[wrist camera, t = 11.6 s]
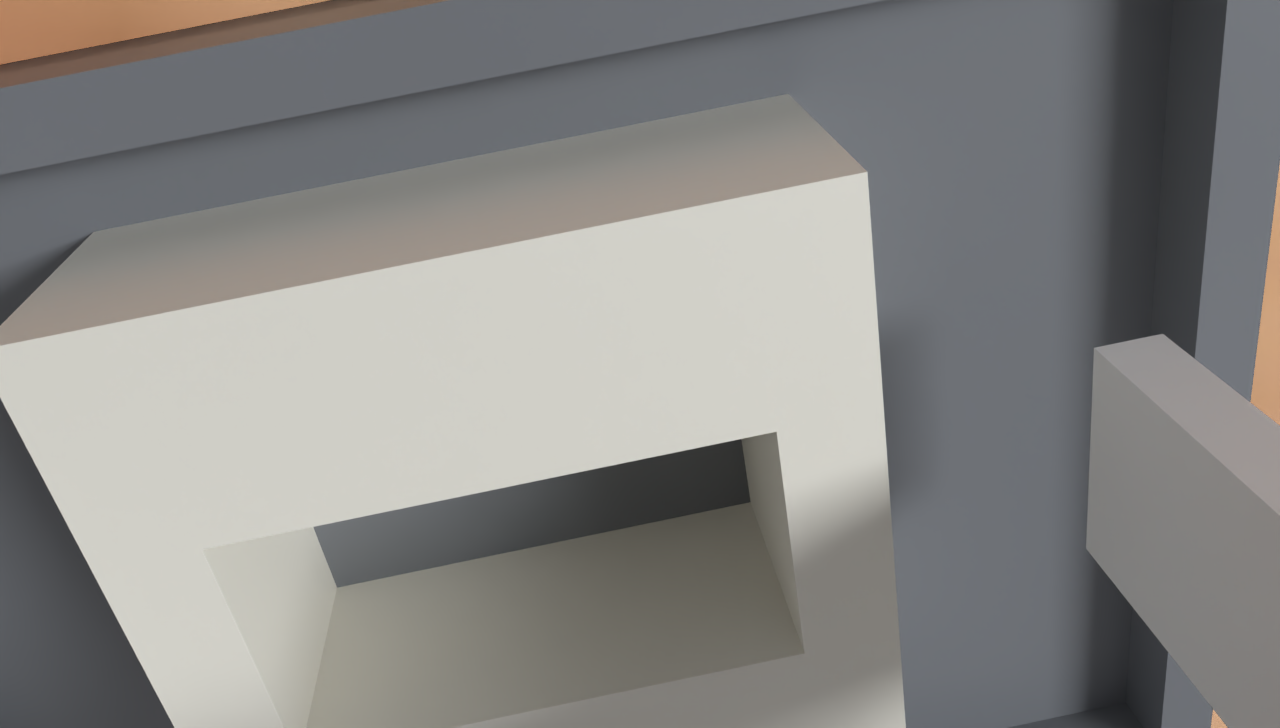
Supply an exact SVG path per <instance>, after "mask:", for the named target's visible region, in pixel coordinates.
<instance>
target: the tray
mask: <svg viewBox="0 0 1280 728" xmlns="http://www.w3.org/2000/svg"><path fill="white" fill-rule="evenodd" d="M785 94H789V95H790V96H791V97H792V98H793V99H794V100H795V101H796V102H797V103H798V104H799V105H800V106H801V107H802V108H803V109H804V110H805V111H806V112H807V113H808V114H809V115H810V116H811V117H812V118H813V119H814V120H815V121H816V122H817V123H818V124H819V125H820V126H821V127H822V128H823V129H824V130H825V131H826V132H828V133H829V134H830V135H831V136H832V137H833V138H834V139H835V140H836V141H837V142H838V143H839V144H840V145H841V146H842V147H843V148H844V149H845V150H846V151H847V152H848V153H849V154H850V155H851V156H852V157H853V158H854V159H855V160H856V161H857V162H858V163H859V164H860V165H861V166H862V167H863V168H864V169H865V170H866V171H867V172H868V187H869V201H870V216H871V230H872V245H873V259H874V273H875V288H876V302H877V317H878V331H879V346H880V360H881V375H882V389H883V404H884V418H885V433H886V447H887V462H888V476H889V491H890V505H891V520H892V534H893V549H894V563H895V577H896V592H897V606H898V621H899V635H900V650H901V664H902V679H903V693H904V708H905V722H906V728H1211V720H1212V711H1213V708H1212V707H1211V706H1210V704H1209V703H1208V702H1207V700H1206V699H1205V698H1204V697H1203V695H1202V694H1201V693H1200V692H1199V690H1198V689H1197V688H1196V687H1195V685H1194V684H1193V683H1192V682H1191V680H1190V679H1189V678H1188V676H1187V675H1186V674H1185V673H1184V671H1183V670H1182V669H1181V668H1180V666H1179V665H1178V664H1177V663H1176V661H1175V660H1174V659H1173V658H1172V656H1171V655H1170V654H1169V653H1168V651H1167V650H1166V649H1165V647H1164V646H1163V645H1162V644H1161V642H1160V641H1159V640H1158V639H1157V637H1156V636H1155V635H1154V634H1153V632H1152V631H1151V630H1150V629H1149V627H1148V626H1147V625H1146V623H1145V622H1144V621H1143V620H1142V618H1141V617H1140V616H1139V615H1138V613H1137V612H1136V611H1135V610H1134V608H1133V607H1132V606H1131V605H1130V603H1129V602H1128V601H1127V600H1126V598H1125V597H1124V596H1123V594H1122V593H1121V592H1120V591H1119V589H1118V588H1117V587H1116V586H1115V584H1114V583H1113V582H1112V581H1111V579H1110V578H1109V577H1108V576H1107V574H1106V573H1105V572H1104V571H1103V569H1102V568H1101V567H1100V565H1099V564H1098V563H1097V562H1096V560H1095V559H1094V558H1093V557H1092V555H1091V554H1090V553H1089V552H1088V550H1087V549H1086V538H1087V513H1088V487H1089V462H1090V437H1091V411H1092V386H1093V361H1094V348H1096V347H1100V346H1105V345H1110V344H1115V343H1120V342H1125V341H1130V340H1135V339H1139V338H1144V337H1149V336H1154V335H1159V334H1164V335H1165V336H1166V337H1168V338H1169V339H1170V340H1171V341H1173V342H1174V343H1175V344H1177V345H1178V346H1179V347H1180V348H1182V349H1183V350H1184V351H1185V352H1187V353H1188V354H1189V355H1191V356H1192V357H1193V358H1194V359H1196V360H1197V361H1198V362H1199V363H1201V364H1202V365H1203V366H1204V367H1206V368H1207V369H1208V370H1210V371H1211V372H1212V373H1213V374H1215V375H1216V376H1217V377H1218V378H1220V379H1221V380H1222V381H1224V382H1225V383H1226V384H1227V385H1229V386H1230V387H1231V388H1232V389H1234V390H1235V391H1236V392H1238V393H1239V394H1240V395H1241V396H1243V397H1244V398H1245V399H1246V400H1248V401H1249V402H1250V400H1251V392H1252V384H1253V376H1254V368H1255V359H1256V351H1257V343H1258V335H1259V327H1260V318H1261V310H1262V302H1263V294H1264V286H1265V277H1266V269H1267V261H1268V253H1269V245H1270V236H1271V228H1272V220H1273V212H1274V204H1275V196H1276V187H1277V179H1278V171H1279V163H1280V0H330V1H325V2H320V3H315V4H310V5H304V6H299V7H294V8H289V9H284V10H279V11H274V12H269V13H263V14H258V15H253V16H248V17H243V18H238V19H233V20H228V21H222V22H217V23H212V24H207V25H202V26H197V27H192V28H187V29H181V30H176V31H171V32H166V33H161V34H156V35H151V36H146V37H140V38H135V39H130V40H125V41H120V42H115V43H110V44H105V45H99V46H94V47H89V48H84V49H79V50H74V51H69V52H64V53H58V54H53V55H48V56H43V57H38V58H33V59H28V60H23V61H17V62H12V63H7V64H2V65H0V325H1V324H2V323H3V322H4V321H5V320H6V319H7V318H8V317H9V316H10V315H11V314H12V313H13V312H14V311H15V310H16V309H17V308H18V307H19V306H20V305H21V304H22V303H23V302H24V301H25V300H26V299H27V298H28V297H29V296H30V295H31V294H32V293H33V292H34V291H35V290H36V289H37V288H38V287H39V286H40V285H41V284H42V283H43V282H44V281H45V280H46V279H47V278H48V277H49V276H50V275H51V274H52V273H53V272H54V271H55V270H56V269H57V268H58V267H59V266H60V265H61V264H62V263H63V262H64V261H65V260H66V259H67V258H68V257H69V256H70V255H71V254H72V253H73V252H74V251H75V250H76V249H77V248H78V247H79V246H80V245H81V244H82V243H83V242H84V241H85V240H86V239H87V238H88V237H89V236H90V235H91V234H92V233H93V232H96V231H101V230H106V229H111V228H116V227H121V226H126V225H131V224H136V223H141V222H146V221H151V220H156V219H161V218H166V217H171V216H177V215H182V214H187V213H192V212H197V211H202V210H207V209H212V208H217V207H222V206H227V205H232V204H237V203H242V202H247V201H252V200H257V199H262V198H267V197H272V196H277V195H282V194H287V193H292V192H297V191H302V190H307V189H312V188H317V187H322V186H327V185H332V184H338V183H343V182H348V181H353V180H358V179H363V178H368V177H373V176H378V175H383V174H388V173H393V172H398V171H403V170H408V169H413V168H418V167H423V166H428V165H433V164H438V163H443V162H448V161H453V160H458V159H463V158H468V157H473V156H478V155H483V154H488V153H493V152H498V151H504V150H509V149H514V148H519V147H524V146H529V145H534V144H539V143H544V142H549V141H554V140H559V139H564V138H569V137H574V136H579V135H584V134H589V133H594V132H599V131H604V130H609V129H614V128H619V127H624V126H629V125H634V124H639V123H644V122H649V121H654V120H659V119H664V118H670V117H675V116H680V115H685V114H690V113H695V112H700V111H705V110H710V109H715V108H720V107H725V106H730V105H735V104H740V103H745V102H750V101H755V100H760V99H765V98H770V97H775V96H780V95H785ZM749 502H751V501H750V494H749V488H748V481H747V474H746V467H745V460H744V453H743V446H742V440H741V439H739V440H734V441H729V442H724V443H719V444H714V445H709V446H705V447H700V448H695V449H690V450H685V451H680V452H675V453H670V454H666V455H661V456H656V457H651V458H646V459H641V460H636V461H632V462H627V463H622V464H617V465H612V466H607V467H602V468H597V469H593V470H588V471H583V472H578V473H573V474H568V475H563V476H559V477H554V478H549V479H544V480H539V481H534V482H529V483H524V484H520V485H515V486H510V487H505V488H500V489H495V490H490V491H486V492H481V493H476V494H471V495H466V496H461V497H456V498H451V499H447V500H442V501H437V502H432V503H427V504H422V505H417V506H413V507H408V508H403V509H398V510H393V511H388V512H383V513H378V514H374V515H369V516H364V517H359V518H354V519H349V520H344V521H340V522H335V523H330V524H325V525H320V526H315V527H313V528H314V530H315V533H316V535H317V538H318V541H319V543H320V546H321V548H322V551H323V553H324V556H325V558H326V561H327V564H328V566H329V569H330V571H331V574H332V576H333V579H334V581H335V584H336V586H337V588H338V587H343V586H348V585H352V584H357V583H362V582H367V581H372V580H377V579H381V578H386V577H391V576H396V575H401V574H406V573H410V572H415V571H420V570H425V569H430V568H435V567H439V566H444V565H449V564H454V563H459V562H464V561H468V560H473V559H478V558H483V557H488V556H493V555H497V554H502V553H507V552H512V551H517V550H522V549H526V548H531V547H536V546H541V545H546V544H551V543H555V542H560V541H565V540H570V539H575V538H580V537H584V536H589V535H594V534H599V533H604V532H609V531H613V530H618V529H623V528H628V527H633V526H638V525H643V524H647V523H652V522H657V521H662V520H667V519H672V518H676V517H681V516H686V515H691V514H696V513H701V512H705V511H710V510H715V509H720V508H725V507H730V506H734V505H739V504H744V503H749ZM0 728H174V726H173V724H172V722H171V720H170V718H169V716H168V715H167V713H166V711H165V709H164V707H163V705H162V703H161V701H160V699H159V698H158V696H157V694H156V692H155V690H154V688H153V686H152V684H151V682H150V680H149V679H148V677H147V675H146V673H145V671H144V669H143V667H142V665H141V663H140V662H139V660H138V658H137V656H136V654H135V652H134V650H133V648H132V646H131V645H130V643H129V641H128V639H127V637H126V635H125V633H124V631H123V629H122V627H121V626H120V624H119V622H118V620H117V618H116V616H115V614H114V612H113V610H112V609H111V607H110V605H109V603H108V601H107V599H106V597H105V595H104V593H103V592H102V590H101V588H100V586H99V584H98V582H97V580H96V578H95V576H94V574H93V573H92V571H91V569H90V567H89V565H88V563H87V561H86V559H85V557H84V556H83V554H82V552H81V550H80V548H79V546H78V544H77V542H76V540H75V539H74V537H73V535H72V533H71V531H70V529H69V527H68V525H67V523H66V521H65V520H64V518H63V516H62V514H61V512H60V510H59V508H58V506H57V504H56V503H55V501H54V499H53V497H52V495H51V493H50V491H49V489H48V487H47V486H46V484H45V482H44V480H43V478H42V476H41V474H40V472H39V470H38V468H37V467H36V465H35V463H34V461H33V459H32V457H31V455H30V453H29V451H28V450H27V448H26V446H25V444H24V442H23V440H22V438H21V436H20V434H19V433H18V431H17V429H16V427H15V425H14V423H13V421H12V419H11V417H10V415H9V414H8V412H7V410H6V408H5V406H4V404H3V402H2V400H1V398H0Z"/></svg>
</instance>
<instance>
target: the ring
mask: <svg viewBox="0 0 1280 728" xmlns="http://www.w3.org/2000/svg"><path fill="white" fill-rule="evenodd" d="M0 398H1V400H2V402H3V404H4V406H5V408H6V410H7V412H8V414H9V415H10V417H11V419H12V421H13V423H14V425H15V427H16V429H17V431H18V433H19V434H20V436H21V438H22V440H23V442H24V444H25V446H26V448H27V450H28V451H29V453H30V455H31V457H32V459H33V461H34V463H35V465H36V467H37V468H38V470H39V472H40V474H41V476H42V478H43V480H44V482H45V484H46V486H47V487H48V489H49V491H50V493H51V495H52V497H53V499H54V501H55V503H56V504H57V506H58V508H59V510H60V512H61V514H62V516H63V518H64V520H65V521H66V523H67V525H68V527H69V529H70V531H71V533H72V535H73V537H74V539H75V540H76V542H77V544H78V546H79V548H80V550H81V552H82V554H83V556H84V557H85V559H86V561H87V563H88V565H89V567H90V569H91V571H92V573H93V574H94V576H95V578H96V580H97V582H98V584H99V586H100V588H101V590H102V592H103V593H104V595H105V597H106V599H107V601H108V603H109V605H110V607H111V609H112V610H113V612H114V614H115V616H116V618H117V620H118V622H119V624H120V626H121V627H122V629H123V631H124V633H125V635H126V637H127V639H128V641H129V643H130V645H131V646H132V648H133V650H134V652H135V654H136V656H137V658H138V660H139V662H140V663H141V665H142V667H143V669H144V671H145V673H146V675H147V677H148V679H149V680H150V682H151V684H152V686H153V688H154V690H155V692H156V694H157V696H158V698H159V699H160V701H161V703H162V705H163V707H164V709H165V711H166V713H167V715H168V716H169V718H170V720H171V722H172V724H173V726H174V728H906V722H905V708H904V693H903V679H902V664H901V650H900V635H899V621H898V606H897V592H896V577H895V563H894V549H893V534H892V520H891V505H890V491H889V476H888V462H887V447H886V433H885V418H884V404H883V389H882V375H881V360H880V346H879V331H878V317H877V302H876V288H875V273H874V259H873V245H872V230H871V216H870V201H869V187H868V172H867V171H866V170H865V169H864V168H863V167H862V166H861V165H860V164H859V163H858V162H857V161H856V160H855V159H854V158H853V157H852V156H851V155H850V154H849V153H848V152H847V151H846V150H845V149H844V148H843V147H842V146H841V145H840V144H839V143H838V142H837V141H836V140H835V139H834V138H833V137H832V136H831V135H830V134H829V133H828V132H826V131H825V130H824V129H823V128H822V127H821V126H820V125H819V124H818V123H817V122H816V121H815V120H814V119H813V118H812V117H811V116H810V115H809V114H808V113H807V112H806V111H805V110H804V109H803V108H802V107H801V106H800V105H799V104H798V103H797V102H796V101H795V100H794V99H793V98H792V97H791V96H790V95H789V94H785V95H780V96H775V97H770V98H765V99H760V100H755V101H750V102H745V103H740V104H735V105H730V106H725V107H720V108H715V109H710V110H705V111H700V112H695V113H690V114H685V115H680V116H675V117H670V118H664V119H659V120H654V121H649V122H644V123H639V124H634V125H629V126H624V127H619V128H614V129H609V130H604V131H599V132H594V133H589V134H584V135H579V136H574V137H569V138H564V139H559V140H554V141H549V142H544V143H539V144H534V145H529V146H524V147H519V148H514V149H509V150H504V151H498V152H493V153H488V154H483V155H478V156H473V157H468V158H463V159H458V160H453V161H448V162H443V163H438V164H433V165H428V166H423V167H418V168H413V169H408V170H403V171H398V172H393V173H388V174H383V175H378V176H373V177H368V178H363V179H358V180H353V181H348V182H343V183H338V184H332V185H327V186H322V187H317V188H312V189H307V190H302V191H297V192H292V193H287V194H282V195H277V196H272V197H267V198H262V199H257V200H252V201H247V202H242V203H237V204H232V205H227V206H222V207H217V208H212V209H207V210H202V211H197V212H192V213H187V214H182V215H177V216H171V217H166V218H161V219H156V220H151V221H146V222H141V223H136V224H131V225H126V226H121V227H116V228H111V229H106V230H101V231H96V232H93V233H92V234H91V235H90V236H89V237H88V238H87V239H86V240H85V241H84V242H83V243H82V244H81V245H80V246H79V247H78V248H77V249H76V250H75V251H74V252H73V253H72V254H71V255H70V256H69V257H68V258H67V259H66V260H65V261H64V262H63V263H62V264H61V265H60V266H59V267H58V268H57V269H56V270H55V271H54V272H53V273H52V274H51V275H50V276H49V277H48V278H47V279H46V280H45V281H44V282H43V283H42V284H41V285H40V286H39V287H38V288H37V289H36V290H35V291H34V292H33V293H32V294H31V295H30V296H29V297H28V298H27V299H26V300H25V301H24V302H23V303H22V304H21V305H20V306H19V307H18V308H17V309H16V310H15V311H14V312H13V313H12V314H11V315H10V316H9V317H8V318H7V319H6V320H5V321H4V322H3V323H2V324H1V325H0ZM739 439H741V440H742V446H743V453H744V460H745V467H746V474H747V481H748V488H749V494H750V501H751V502H749V503H744V504H739V505H734V506H730V507H725V508H720V509H715V510H710V511H705V512H701V513H696V514H691V515H686V516H681V517H676V518H672V519H667V520H662V521H657V522H652V523H647V524H643V525H638V526H633V527H628V528H623V529H618V530H613V531H609V532H604V533H599V534H594V535H589V536H584V537H580V538H575V539H570V540H565V541H560V542H555V543H551V544H546V545H541V546H536V547H531V548H526V549H522V550H517V551H512V552H507V553H502V554H497V555H493V556H488V557H483V558H478V559H473V560H468V561H464V562H459V563H454V564H449V565H444V566H439V567H435V568H430V569H425V570H420V571H415V572H410V573H406V574H401V575H396V576H391V577H386V578H381V579H377V580H372V581H367V582H362V583H357V584H352V585H348V586H343V587H338V588H337V586H336V584H335V581H334V579H333V576H332V574H331V571H330V569H329V566H328V564H327V561H326V558H325V556H324V553H323V551H322V548H321V546H320V543H319V541H318V538H317V535H316V533H315V530H314V528H313V527H315V526H320V525H325V524H330V523H335V522H340V521H344V520H349V519H354V518H359V517H364V516H369V515H374V514H378V513H383V512H388V511H393V510H398V509H403V508H408V507H413V506H417V505H422V504H427V503H432V502H437V501H442V500H447V499H451V498H456V497H461V496H466V495H471V494H476V493H481V492H486V491H490V490H495V489H500V488H505V487H510V486H515V485H520V484H524V483H529V482H534V481H539V480H544V479H549V478H554V477H559V476H563V475H568V474H573V473H578V472H583V471H588V470H593V469H597V468H602V467H607V466H612V465H617V464H622V463H627V462H632V461H636V460H641V459H646V458H651V457H656V456H661V455H666V454H670V453H675V452H680V451H685V450H690V449H695V448H700V447H705V446H709V445H714V444H719V443H724V442H729V441H734V440H739Z"/></svg>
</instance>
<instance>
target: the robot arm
mask: <svg viewBox="0 0 1280 728" xmlns="http://www.w3.org/2000/svg"><path fill="white" fill-rule="evenodd" d="M1086 549H1087V550H1088V552H1089V553H1090V554H1091V555H1092V557H1093V558H1094V559H1095V560H1096V562H1097V563H1098V564H1099V565H1100V567H1101V568H1102V569H1103V571H1104V572H1105V573H1106V574H1107V576H1108V577H1109V578H1110V579H1111V581H1112V582H1113V583H1114V584H1115V586H1116V587H1117V588H1118V589H1119V591H1120V592H1121V593H1122V594H1123V596H1124V597H1125V598H1126V600H1127V601H1128V602H1129V603H1130V605H1131V606H1132V607H1133V608H1134V610H1135V611H1136V612H1137V613H1138V615H1139V616H1140V617H1141V618H1142V620H1143V621H1144V622H1145V623H1146V625H1147V626H1148V627H1149V629H1150V630H1151V631H1152V632H1153V634H1154V635H1155V636H1156V637H1157V639H1158V640H1159V641H1160V642H1161V644H1162V645H1163V646H1164V647H1165V649H1166V650H1167V651H1168V653H1169V654H1170V655H1171V656H1172V658H1173V659H1174V660H1175V661H1176V663H1177V664H1178V665H1179V666H1180V668H1181V669H1182V670H1183V671H1184V673H1185V674H1186V675H1187V676H1188V678H1189V679H1190V680H1191V682H1192V683H1193V684H1194V685H1195V687H1196V688H1197V689H1198V690H1199V692H1200V693H1201V694H1202V695H1203V697H1204V698H1205V699H1206V700H1207V702H1208V703H1209V704H1210V706H1211V707H1212V708H1213V709H1214V711H1215V712H1216V713H1217V714H1218V716H1219V717H1220V718H1221V719H1222V721H1223V722H1224V723H1225V724H1226V726H1227V727H1228V728H1280V426H1279V425H1278V424H1277V423H1276V422H1274V421H1273V420H1272V419H1271V418H1269V417H1268V416H1267V415H1265V414H1264V413H1263V412H1262V411H1260V410H1259V409H1258V408H1257V407H1255V406H1254V405H1253V404H1252V403H1250V402H1249V401H1248V400H1246V399H1245V398H1244V397H1243V396H1241V395H1240V394H1239V393H1238V392H1236V391H1235V390H1234V389H1232V388H1231V387H1230V386H1229V385H1227V384H1226V383H1225V382H1224V381H1222V380H1221V379H1220V378H1218V377H1217V376H1216V375H1215V374H1213V373H1212V372H1211V371H1210V370H1208V369H1207V368H1206V367H1204V366H1203V365H1202V364H1201V363H1199V362H1198V361H1197V360H1196V359H1194V358H1193V357H1192V356H1191V355H1189V354H1188V353H1187V352H1185V351H1184V350H1183V349H1182V348H1180V347H1179V346H1178V345H1177V344H1175V343H1174V342H1173V341H1171V340H1170V339H1169V338H1168V337H1166V336H1165V335H1164V334H1159V335H1154V336H1149V337H1144V338H1139V339H1135V340H1130V341H1125V342H1120V343H1115V344H1110V345H1105V346H1100V347H1096V348H1094V361H1093V386H1092V411H1091V437H1090V462H1089V487H1088V513H1087V538H1086Z"/></svg>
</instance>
